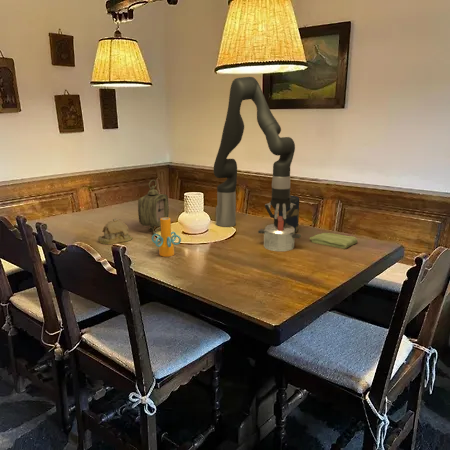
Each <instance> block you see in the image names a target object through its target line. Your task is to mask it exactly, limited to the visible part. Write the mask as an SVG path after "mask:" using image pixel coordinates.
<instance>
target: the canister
mask: <svg viewBox="0 0 450 450" xmlns="http://www.w3.org/2000/svg"><path fill="white" fill-rule="evenodd" d="M290 201H291V203H293V204H295V205H296V208H295V210H294V212H293V214H292V215H291V217H290V218H287V219H286V224H287V225H291V226H293V227H294V228H295V233H297V232H298V230H299V223H300V222H299V221H300V220H299V219H300V218H299V217H300V214H299V212H300V197H299V196H296V195H291V194H290ZM290 209H291V208H290V205H289V207H288V208H287V209H286V214H288V212H289V211H290ZM278 216H282V217H283V212H282V211H278Z"/></svg>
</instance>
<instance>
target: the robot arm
mask: <svg viewBox="0 0 450 450" xmlns="http://www.w3.org/2000/svg"><path fill="white" fill-rule="evenodd" d="M228 96H229V97H228V105H227V111H226V116H225V121H224V124H223V125H224V126H223V128H222V135H221V139H220V144H219V148H218V152H217V154H216V157H215V160H214V164H213V175H214V176H215V177H216V178H217V179H226V180H224V182H222V183H220V184H218V185H217V187H216V192H217V193H216V195H217V196H216V197H217V198H216V199H217V202H216V203H217V205H216V206H215V225H216V226H218V227H222V228H223V227H226V228H229V227H230V228H231V227H235V226H236V224H237V223H236V212H237V211H236V208H237V206H236V203H237V201H236V198H237V197H236V195H237V194H236V193H237V185H238V183H237V179H238V164H237V161H236V159H234V158H228V156H229V155H230V154H231V153H232V152H233V151H234V149H236V148H237V146H239V144H240V143H241V141H242V139H243V135H244V130H245V123H244V120H243V117H242V115H241V106H242V104H243V101H247V100H248V101H249V100H251V101H252V102H253V103H254V104H255V107H256V121H257V123H258V127H259V128H260V129H261V131H262V133H263V134H264V136H265V139H266V143H267V146H268V147H267V148H268V149H269V151H270V153H272V154H273V155H274V156H279V158H278V160H276V161H274V163H273V164H272V179H271V200H270V201H269V203H265V204H264V208H265V209H266V211H267V213H268V215H269V217H270V218H271V219H273V224H274V226H275V227H276V228H277V222H278V219H277V217H278V216H279V211H282V212H283V221H284V223H283V228H284V226H286V219H287V218H290V217H291V215H292V214H293V212H294V210H295V208H296V205H295V204H293V203H291V201H290V195H291V166H292V162H293V159H294V154H295V151H296V145H295V141H294V140H293V139H292V137H290V136H285V137H284V136H283V137H280V136H279V135H280V133H281V132H282V128H281V125H280V124H279V122H278V120H277V119H276V118H275V116H274V115H273V113H272V111H271V109H270V106H269V104H268V103H267V99H266V98H265V97H266V96H265V95H264V92H263V90H262V89H261V85H260V84H259V82H258V80H257V79H256V78H255V77H253V76H244V77H243V76H242V77H237V78H234V80H232V83H231V86H230V89H229V95H228ZM289 205H290V208H291V209H290V211H289V212H288V214H286V209H287V208H288V207H289ZM271 206H272V208H273V209H274V214H273V212H272V211H271Z"/></svg>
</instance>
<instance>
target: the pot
mask: <svg viewBox="0 0 450 450" xmlns="http://www.w3.org/2000/svg"><path fill="white" fill-rule="evenodd" d="M257 233H258V234H263V247H264V249H266V250H269V251H271V252H273V251H274V252H288V251H292V250H293V249H294V248H295V239H300V238H301V237H302V234H301V233H296V232H294V233H292V234H289V235H273V234H269V233H267V232H266V231H265V228H264V229H263V228H260V229H258V231H257Z"/></svg>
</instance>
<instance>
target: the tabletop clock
mask: <svg viewBox="0 0 450 450" xmlns="http://www.w3.org/2000/svg"><path fill="white" fill-rule="evenodd" d="M152 182H154V183H155V185H151V183H152ZM156 187H157V181H156V180H155V179H151V180H149V182H148V188H149V190H148V192H147V193H146V194H145V195H143V196H142V197H140V198H138V201H137V213H138V214H137V215H138V216H137V217H138V221H139V222H138V223H139V224H140V225H142V226H146V227H149V228H148V231H150V232H151V233H152V235H154V234H157V233H156V231H155V227H156V228H158V227H161V223H160V219H161V218H169V210H170V209H169V197H168V195H167V194H164V193H163V194H162V193H160V192H159V191H158V190H157V189H155V188H156Z"/></svg>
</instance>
